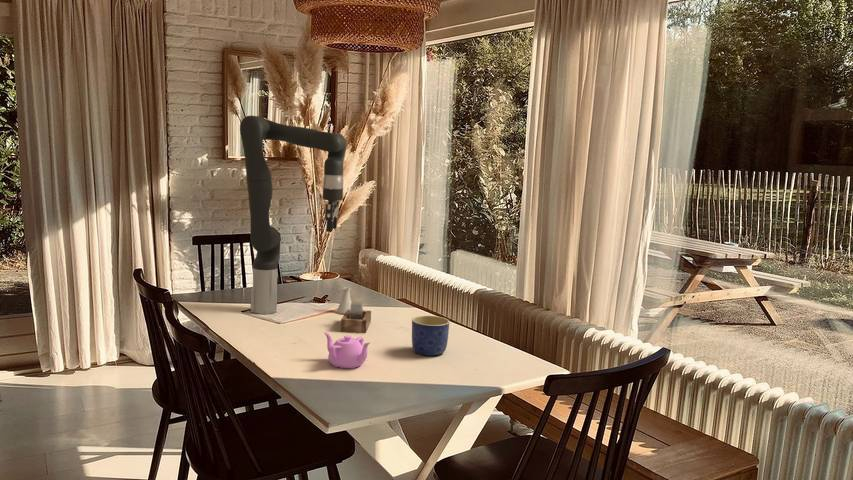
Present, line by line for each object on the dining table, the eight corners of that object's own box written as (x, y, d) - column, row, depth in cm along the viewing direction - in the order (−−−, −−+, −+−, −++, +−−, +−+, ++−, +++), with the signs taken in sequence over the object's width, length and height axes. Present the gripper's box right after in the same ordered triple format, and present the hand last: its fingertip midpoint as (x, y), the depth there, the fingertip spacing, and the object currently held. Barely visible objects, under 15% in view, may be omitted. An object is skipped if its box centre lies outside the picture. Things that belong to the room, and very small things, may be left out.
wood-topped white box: (349, 328, 258) (350, 304, 256) (351, 325, 261) (352, 301, 260) (360, 328, 257) (361, 304, 256) (362, 325, 261) (363, 302, 260)
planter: (420, 359, 225) (422, 326, 224) (404, 348, 236) (405, 316, 235) (454, 355, 231) (456, 323, 230) (436, 345, 242) (438, 314, 240)
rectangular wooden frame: (340, 331, 252) (341, 319, 251) (347, 320, 267) (347, 309, 266) (365, 333, 252) (366, 321, 251) (370, 322, 267) (371, 310, 266)
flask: (356, 311, 283) (357, 286, 281) (352, 315, 276) (353, 290, 274) (338, 309, 283) (339, 285, 282) (334, 314, 276) (335, 289, 275)
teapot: (369, 370, 213) (370, 342, 212) (323, 370, 211) (324, 341, 209) (366, 357, 224) (368, 330, 223) (323, 357, 222) (323, 330, 221)
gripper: (326, 185, 270) (325, 227, 272) (319, 187, 256) (317, 232, 258) (346, 186, 269) (344, 228, 272) (339, 189, 255) (338, 233, 258)
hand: (331, 230), depth 265 cm, fingers open, 8 cm apart
